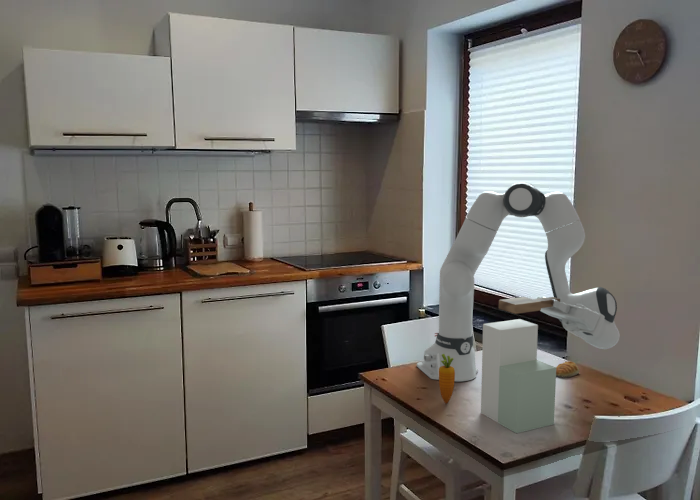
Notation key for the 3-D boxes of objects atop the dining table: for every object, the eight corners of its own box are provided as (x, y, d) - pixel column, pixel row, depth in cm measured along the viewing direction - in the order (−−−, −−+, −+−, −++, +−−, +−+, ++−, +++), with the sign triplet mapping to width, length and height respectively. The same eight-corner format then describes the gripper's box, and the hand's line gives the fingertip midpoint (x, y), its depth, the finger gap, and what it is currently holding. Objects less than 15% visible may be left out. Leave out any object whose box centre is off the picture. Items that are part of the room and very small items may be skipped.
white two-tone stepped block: (480, 412, 171) (483, 324, 168) (516, 405, 176) (519, 319, 173) (516, 433, 157) (519, 337, 154) (553, 424, 163) (557, 331, 160)
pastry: (567, 380, 198) (568, 369, 198) (548, 375, 203) (549, 364, 202) (580, 373, 205) (580, 362, 204) (561, 369, 209) (562, 358, 209)
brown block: (498, 308, 169) (498, 299, 169) (547, 302, 176) (547, 293, 176) (515, 313, 163) (515, 304, 162) (565, 306, 170) (565, 298, 170)
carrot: (457, 405, 176) (458, 356, 174) (442, 407, 175) (443, 358, 173) (450, 399, 181) (451, 351, 179) (434, 401, 179) (435, 353, 177)
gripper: (556, 303, 187) (527, 284, 181) (609, 317, 169) (579, 297, 163) (548, 321, 187) (518, 303, 181) (600, 337, 168) (569, 318, 162)
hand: (547, 300), depth 172 cm, fingers closed on brown block, 3 cm apart
